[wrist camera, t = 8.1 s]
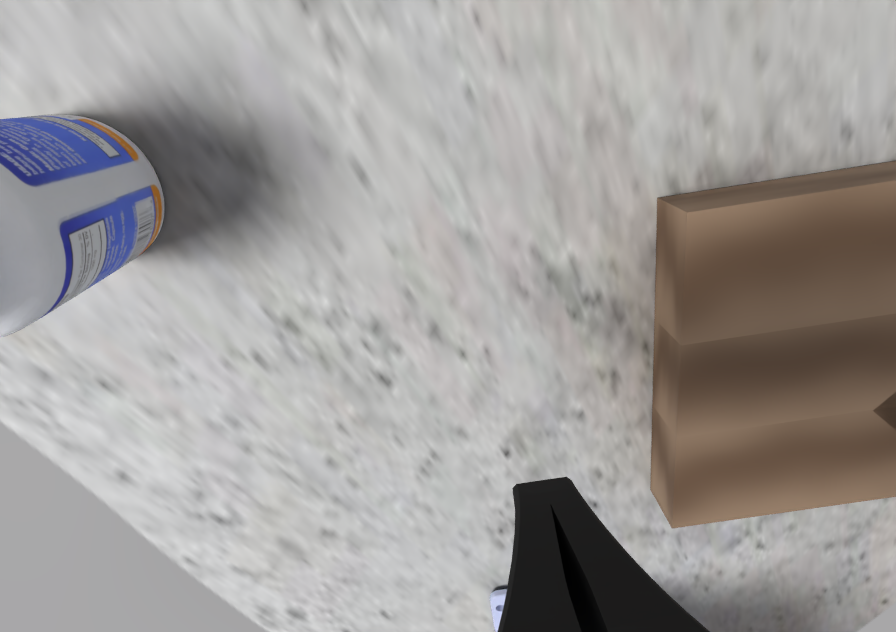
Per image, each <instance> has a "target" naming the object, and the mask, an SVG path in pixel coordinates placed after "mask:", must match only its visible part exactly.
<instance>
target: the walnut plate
mask: <svg viewBox="0 0 896 632" xmlns="http://www.w3.org/2000/svg"><path fill="white" fill-rule="evenodd" d="M651 491H652V493H653V495H654V497H655V499H656V500H657V502H658V504H659V506H660V508H661V509H662V511H663V513H664V515H665V517H666V518H667V520H668V522H669V524H670V525H671V527H672V528H678V527H685V526H692V525H699V524H706V523H713V522H720V521H727V520H734V519H741V518H748V517H755V516H762V515H769V514H776V513H784V512H791V511H798V510H805V509H812V508H819V507H826V506H833V505H840V504H847V503H854V502H861V501H868V500H875V499H882V498H889V497H896V161H892V162H885V163H879V164H872V165H866V166H859V167H853V168H847V169H840V170H834V171H827V172H821V173H814V174H808V175H802V176H795V177H789V178H782V179H776V180H769V181H763V182H756V183H750V184H744V185H737V186H731V187H724V188H718V189H711V190H705V191H699V192H692V193H686V194H679V195H673V196H666V197H660V198H657V238H656V280H655V322H654V365H653V407H652V449H651Z"/></svg>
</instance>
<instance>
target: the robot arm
mask: <svg viewBox="0 0 896 632" xmlns="http://www.w3.org/2000/svg"><path fill="white" fill-rule="evenodd" d="M513 496H514V504H515V535H514V545H513V555H512V563H511V569H510V575H509V581H508V587H507V589H502V590H496V591H494V592H492V593H491V595H490V603H491V609H492V615H493V621H494V627H495V632H710V631H708V630H707V629H706V628H705V627H704V626H703V625H701V624H700V623H699V622H698V621H697V620H696V619H695V618H693V617H692V616H691V615H690V614H689V613H688V612H686V611H685V610H684V609H683V608H682V607H681V606H680V605H679V604H678V603H677V602H676V601H675V600H673V599H672V598H671V597H670V596H669V595H668V594H667V593H666V592H665V591H664V590H663V589H662V588H661V587H660V586H659V585H658V584H657V583H656V582H655V581H654V580H653V579H652V578H651V577H650V576H649V575H648V574H647V573H646V572H645V571H644V570H643V569H642V568H641V567H640V566H639V565H638V564H637V563H636V562H635V561H634V559H633V558H632V557H631V556H630V555H629V554H628V553H627V552H626V551H625V549H624V548H623V547H622V546H621V545H620V544H619V543H618V541H617V540H616V539H615V538H614V537H613V536H612V534H611V533H610V532H609V531H608V530H607V529H606V527H605V526H604V525H603V524H602V522H601V521H600V520H599V519H598V517H597V516H596V515H595V513H594V512H593V511H592V510H591V508H590V507H589V506H588V504H587V503H586V501H585V500H584V499H583V497H582V496H581V494H580V493H579V492H578V490H577V489H576V487H575V486H574V484H573V482H572V481H571V480H570V479H569V478H567V477H562V478H555V479H548V480H541V481H535V482H528V483H521V484H516V485H515V486H514V487H513Z"/></svg>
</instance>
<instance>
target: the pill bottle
mask: <svg viewBox="0 0 896 632" xmlns="http://www.w3.org/2000/svg"><path fill="white" fill-rule="evenodd" d="M163 219H164V196H163V192H162V188H161V185H160V182H159V179H158V177H157V175H156V173H155V171H154V169H153V167H152V165H151V164H150V162H149V161H148V159H147V158H146V156H145V155H144V154H143V152H142V151H141V150H140V149H139V148H138V147H137V146H136V145H135V144H134V143H133V142H132V141H131V140H129V139H128V138H127V137H126V136H124V135H123V134H121V133H120V132H118V131H117V130H115V129H113V128H112V127H110V126H108V125H106V124H104V123H101V122H99V121H96V120H93V119H90V118H86V117H81V116H75V115H41V116H31V117H21V118H10V119H0V338H1V337H4V336H7V335H10V334H12V333H15V332H17V331H19V330H21V329H23V328H24V327H26V326H28V325H29V324H31V323H33V322H35V321H37V320H38V319H40V318H42V317H43V316H45V315H46V314H48V313H49V312H51V311H53V310H54V309H56V308H57V307H59V306H61V305H62V304H64V303H66V302H67V301H69V300H71V299H72V298H74V297H75V296H77V295H78V294H80V293H81V292H83V291H85V290H86V289H88V288H89V287H91V286H93V285H94V284H96V283H97V282H99V281H101V280H102V279H104V278H105V277H107V276H108V275H110V274H112V273H113V272H115V271H116V270H118V269H120V268H121V267H123V266H124V265H126V264H127V263H129V262H130V261H132V260H133V259H135V258H136V257H138V256H139V255H140V254H142V253H143V252H144V251H145V250H146V249H147V248H148V247H149V246H150V245H151V244H152V243H153V242H154V241H155V239H156V237H157V236H158V234H159V232H160V230H161V227H162V224H163Z"/></svg>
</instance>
